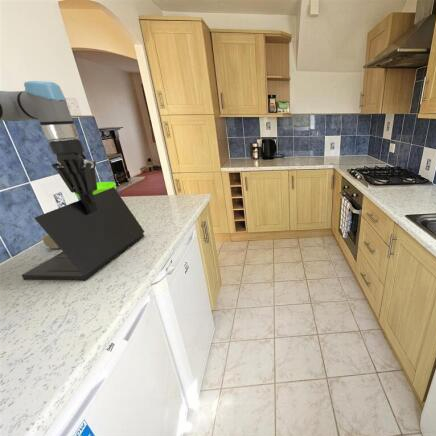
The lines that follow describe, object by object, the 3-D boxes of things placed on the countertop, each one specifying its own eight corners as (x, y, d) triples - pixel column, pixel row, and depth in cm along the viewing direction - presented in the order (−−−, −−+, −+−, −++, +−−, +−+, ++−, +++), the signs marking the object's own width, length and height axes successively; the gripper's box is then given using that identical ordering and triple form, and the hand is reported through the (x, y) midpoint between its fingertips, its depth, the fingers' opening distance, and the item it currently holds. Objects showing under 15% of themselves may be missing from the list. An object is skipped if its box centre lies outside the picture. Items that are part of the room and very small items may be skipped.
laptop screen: (33, 218, 68) (35, 217, 68) (112, 187, 95) (114, 187, 95) (83, 276, 75) (85, 275, 75) (143, 232, 103) (144, 231, 103)
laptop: (23, 279, 77) (20, 274, 77) (97, 236, 105) (96, 232, 104) (85, 280, 76) (83, 275, 75) (144, 236, 103) (143, 232, 103)
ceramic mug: (45, 251, 94) (37, 233, 90) (56, 242, 101) (48, 225, 98) (79, 246, 97) (71, 229, 94) (86, 237, 104) (80, 221, 101)
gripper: (94, 137, 77) (118, 207, 86) (56, 139, 78) (84, 207, 87) (73, 140, 70) (101, 215, 79) (31, 141, 71) (65, 216, 80)
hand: (92, 211), depth 83 cm, fingers closed
